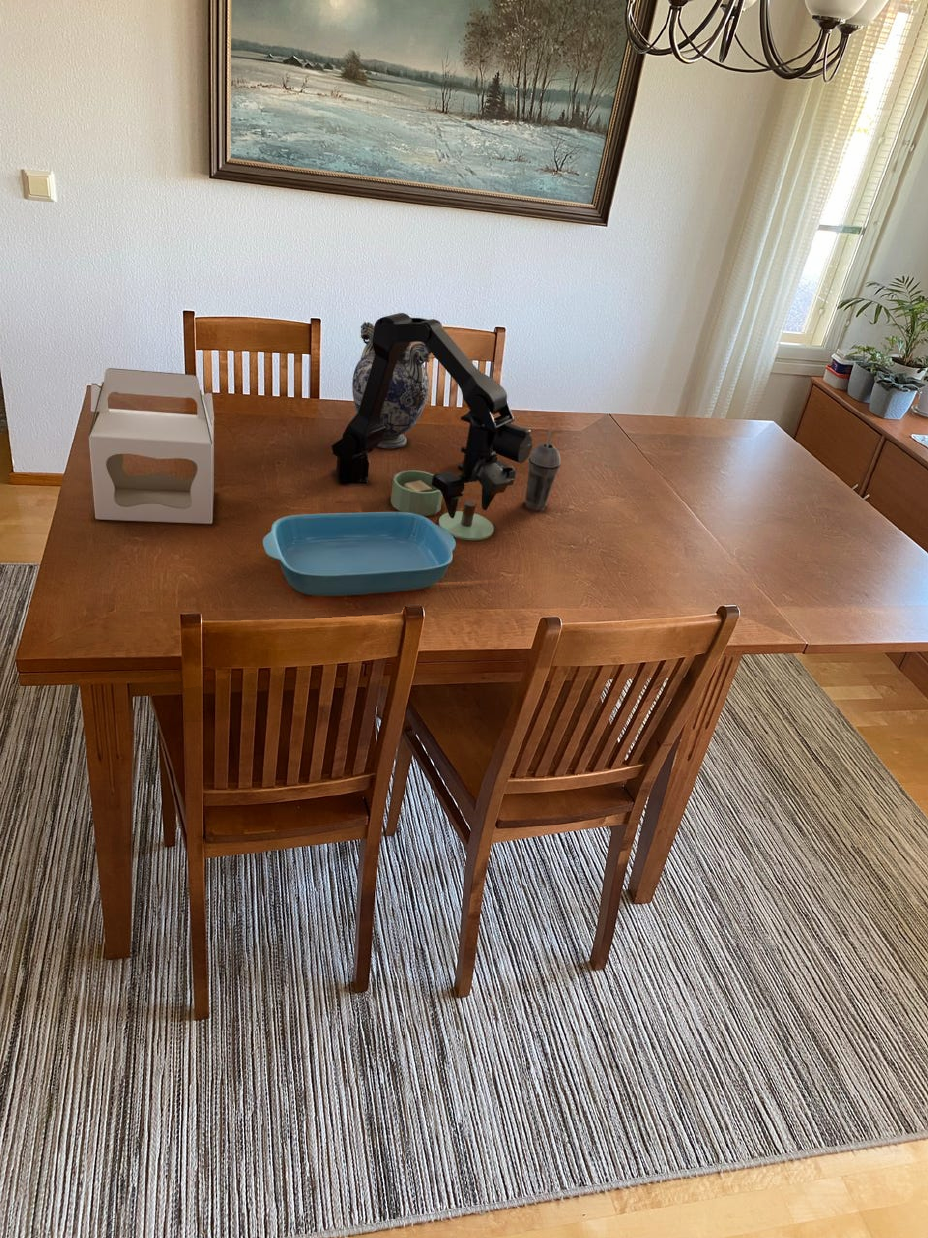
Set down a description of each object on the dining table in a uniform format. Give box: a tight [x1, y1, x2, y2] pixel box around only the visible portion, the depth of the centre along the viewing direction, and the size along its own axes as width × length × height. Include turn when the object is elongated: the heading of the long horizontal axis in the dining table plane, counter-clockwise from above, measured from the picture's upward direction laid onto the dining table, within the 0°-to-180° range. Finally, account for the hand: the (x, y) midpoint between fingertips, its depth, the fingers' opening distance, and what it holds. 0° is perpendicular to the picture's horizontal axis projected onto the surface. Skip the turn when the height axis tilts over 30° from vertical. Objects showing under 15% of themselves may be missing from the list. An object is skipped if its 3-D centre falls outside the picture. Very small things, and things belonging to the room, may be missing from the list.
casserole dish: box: [262, 511, 457, 597], centre depth 170 cm, size 37×22×7 cm, turn 110°
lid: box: [438, 500, 495, 541], centre depth 191 cm, size 12×12×6 cm
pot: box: [390, 469, 444, 517], centre depth 197 cm, size 11×11×6 cm
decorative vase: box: [351, 321, 432, 450], centre depth 218 cm, size 21×19×28 cm
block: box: [404, 480, 432, 492], centre depth 197 cm, size 4×4×4 cm
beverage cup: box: [524, 427, 561, 512], centre depth 202 cm, size 7×7×20 cm
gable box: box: [88, 367, 215, 525], centre depth 172 cm, size 22×13×28 cm, turn 102°
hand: (468, 513), depth 191 cm, fingers open, 9 cm apart
